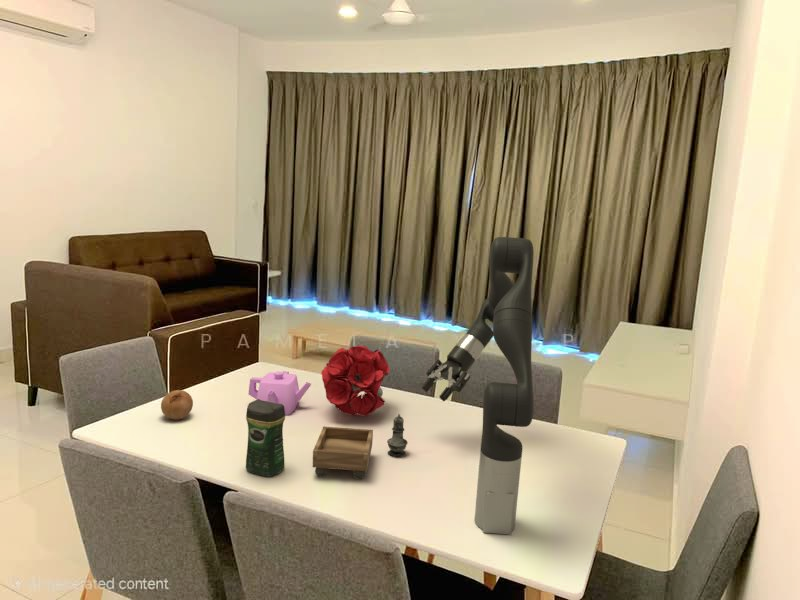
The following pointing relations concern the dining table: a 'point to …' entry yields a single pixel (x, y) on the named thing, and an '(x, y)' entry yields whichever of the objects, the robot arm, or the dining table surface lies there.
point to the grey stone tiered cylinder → (397, 439)
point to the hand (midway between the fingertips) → (432, 394)
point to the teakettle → (278, 389)
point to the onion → (176, 404)
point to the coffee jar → (265, 437)
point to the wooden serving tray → (343, 450)
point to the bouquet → (355, 380)
